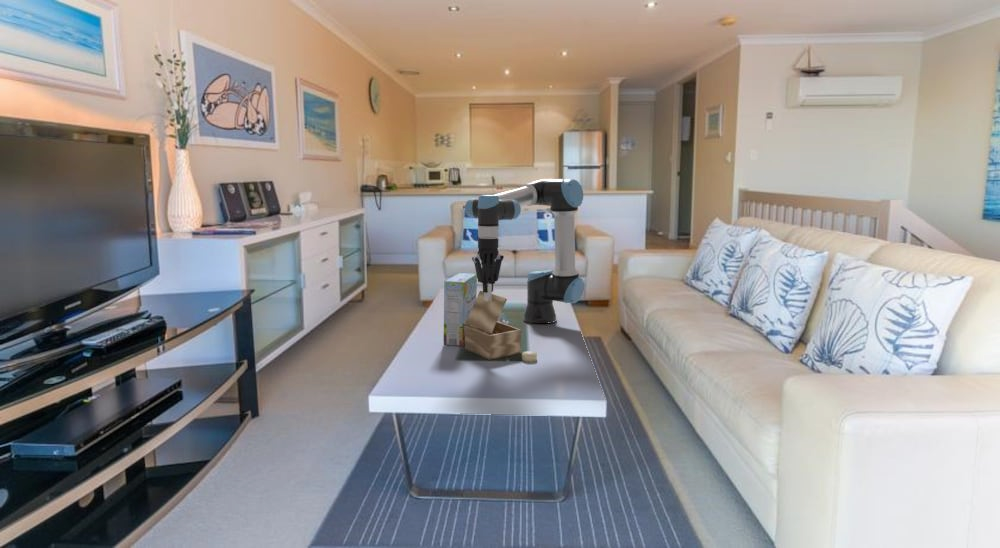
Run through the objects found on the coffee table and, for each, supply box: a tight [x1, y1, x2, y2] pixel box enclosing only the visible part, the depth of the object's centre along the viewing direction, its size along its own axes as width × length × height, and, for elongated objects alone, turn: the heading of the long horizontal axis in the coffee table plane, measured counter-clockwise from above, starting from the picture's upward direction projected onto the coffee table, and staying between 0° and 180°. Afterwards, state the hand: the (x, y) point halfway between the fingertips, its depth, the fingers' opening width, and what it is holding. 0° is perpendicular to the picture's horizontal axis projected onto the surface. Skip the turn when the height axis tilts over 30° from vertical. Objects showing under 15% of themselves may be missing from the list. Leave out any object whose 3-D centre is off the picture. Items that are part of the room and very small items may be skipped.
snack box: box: [443, 272, 478, 347], centre depth 230 cm, size 22×9×26 cm, turn 168°
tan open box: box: [464, 320, 522, 361], centre depth 215 cm, size 15×16×9 cm
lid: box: [465, 290, 508, 335], centre depth 211 cm, size 14×17×1 cm
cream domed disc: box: [521, 350, 538, 363], centre depth 206 cm, size 5×5×2 cm
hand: (487, 300), depth 211 cm, fingers closed
